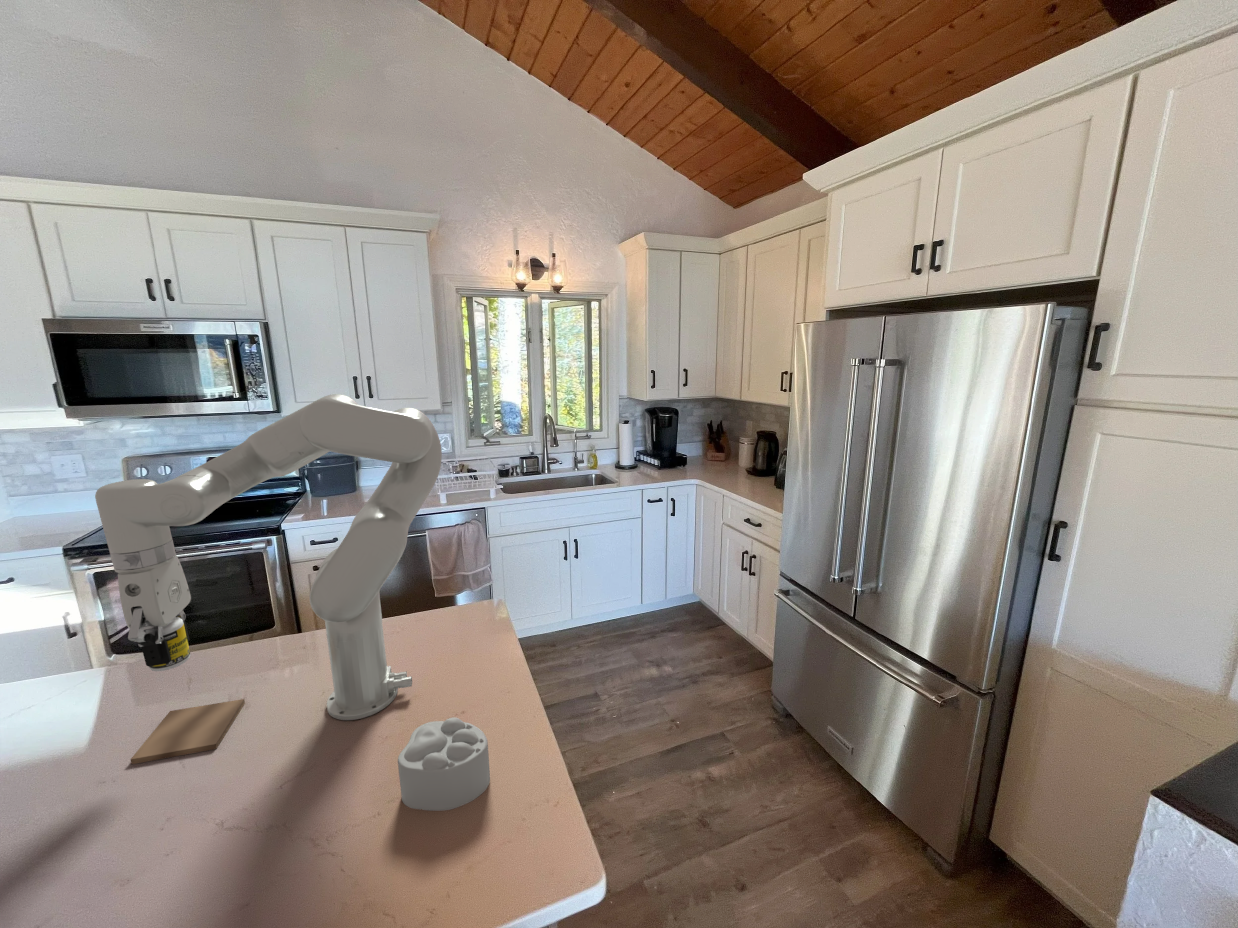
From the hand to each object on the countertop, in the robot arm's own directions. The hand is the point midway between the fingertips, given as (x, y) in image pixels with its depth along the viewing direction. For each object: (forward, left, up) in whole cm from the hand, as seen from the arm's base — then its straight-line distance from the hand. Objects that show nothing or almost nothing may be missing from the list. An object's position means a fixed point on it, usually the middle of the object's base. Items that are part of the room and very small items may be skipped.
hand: (169, 652), depth 86 cm
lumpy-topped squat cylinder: (-45, +23, -17) cm, 54 cm away
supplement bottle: (0, 0, -2) cm, 2 cm away
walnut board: (0, -1, -17) cm, 17 cm away
